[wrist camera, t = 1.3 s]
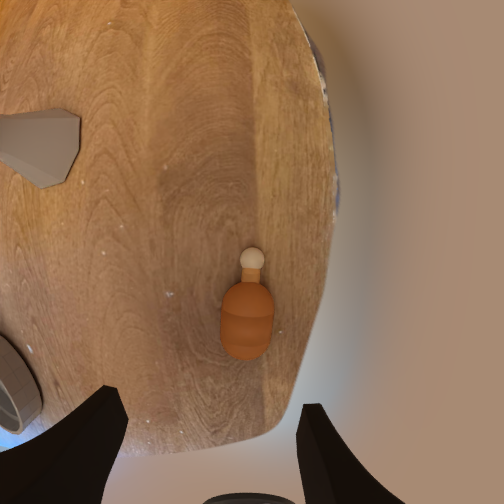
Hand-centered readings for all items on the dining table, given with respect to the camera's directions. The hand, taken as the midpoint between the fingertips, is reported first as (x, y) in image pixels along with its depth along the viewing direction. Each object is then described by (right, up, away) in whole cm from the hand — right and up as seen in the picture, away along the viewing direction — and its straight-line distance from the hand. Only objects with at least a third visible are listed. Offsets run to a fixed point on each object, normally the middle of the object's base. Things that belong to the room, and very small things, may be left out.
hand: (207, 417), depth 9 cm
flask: (-16, +15, +9) cm, 24 cm away
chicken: (+1, +3, +11) cm, 11 cm away
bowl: (-28, -9, +13) cm, 32 cm away
